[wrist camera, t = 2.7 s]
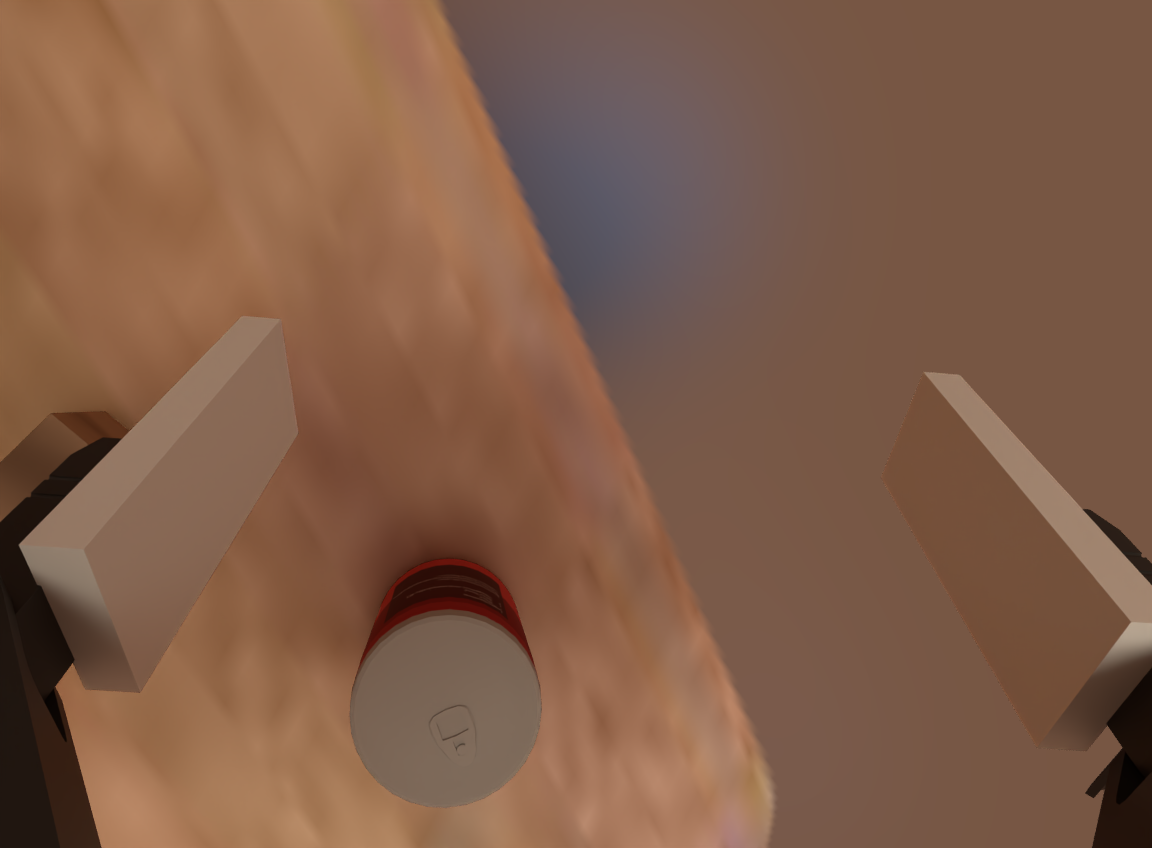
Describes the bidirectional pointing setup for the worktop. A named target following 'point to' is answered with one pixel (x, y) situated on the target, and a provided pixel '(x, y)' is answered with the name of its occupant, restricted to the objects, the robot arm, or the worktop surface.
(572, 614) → the worktop surface
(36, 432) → the walnut block
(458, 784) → the canned food
